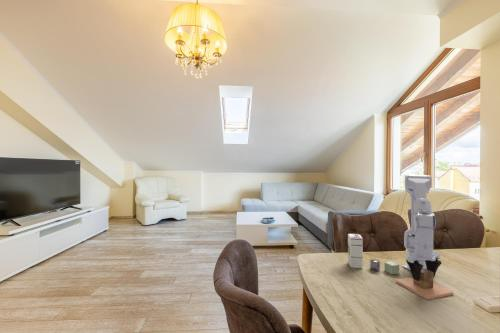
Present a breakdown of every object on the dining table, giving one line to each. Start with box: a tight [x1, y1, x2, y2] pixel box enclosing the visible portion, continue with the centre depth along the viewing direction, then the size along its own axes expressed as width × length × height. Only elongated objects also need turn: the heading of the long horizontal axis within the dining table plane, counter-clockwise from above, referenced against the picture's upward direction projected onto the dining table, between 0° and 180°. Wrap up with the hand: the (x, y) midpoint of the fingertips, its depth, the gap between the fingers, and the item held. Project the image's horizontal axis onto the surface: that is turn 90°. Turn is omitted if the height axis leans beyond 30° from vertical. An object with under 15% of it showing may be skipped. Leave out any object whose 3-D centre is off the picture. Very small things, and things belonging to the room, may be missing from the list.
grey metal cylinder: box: [369, 258, 381, 272], centre depth 109 cm, size 4×4×4 cm
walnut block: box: [413, 268, 434, 289], centre depth 93 cm, size 4×4×6 cm
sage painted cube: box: [383, 261, 400, 275], centre depth 106 cm, size 4×4×4 cm
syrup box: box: [347, 233, 364, 269], centre depth 113 cm, size 6×6×14 cm
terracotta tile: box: [395, 276, 454, 301], centre depth 93 cm, size 13×13×1 cm
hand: (423, 278), depth 93 cm, fingers open, 7 cm apart
